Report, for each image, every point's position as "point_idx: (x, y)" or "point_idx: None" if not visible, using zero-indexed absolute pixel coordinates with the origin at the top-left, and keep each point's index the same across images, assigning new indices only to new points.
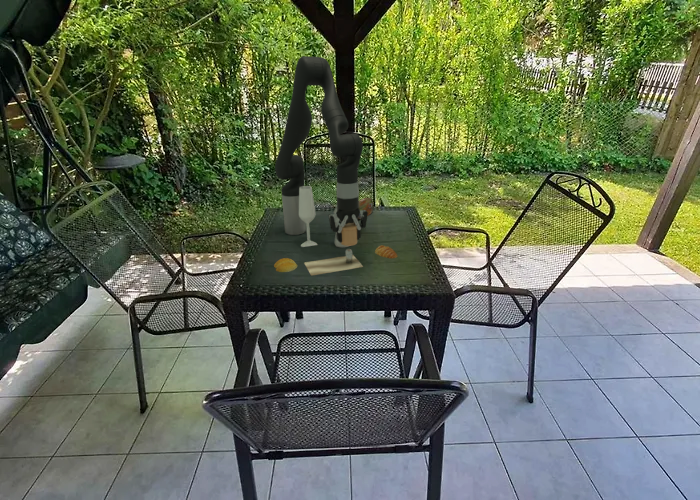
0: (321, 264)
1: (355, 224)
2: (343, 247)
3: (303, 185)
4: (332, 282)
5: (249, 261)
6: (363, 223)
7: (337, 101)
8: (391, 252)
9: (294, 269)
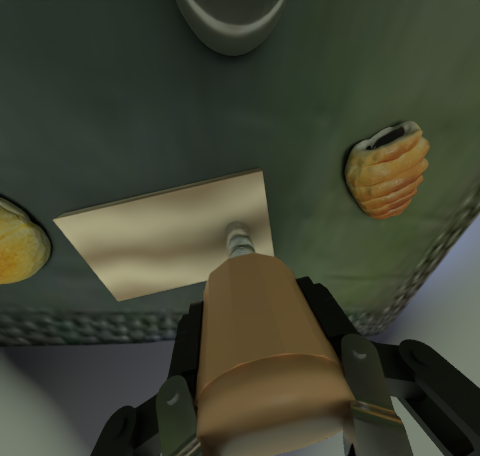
0: (135, 240)
1: (345, 447)
2: (228, 55)
3: None
4: (184, 303)
5: None
6: (424, 423)
7: None
8: (403, 199)
9: (39, 266)
